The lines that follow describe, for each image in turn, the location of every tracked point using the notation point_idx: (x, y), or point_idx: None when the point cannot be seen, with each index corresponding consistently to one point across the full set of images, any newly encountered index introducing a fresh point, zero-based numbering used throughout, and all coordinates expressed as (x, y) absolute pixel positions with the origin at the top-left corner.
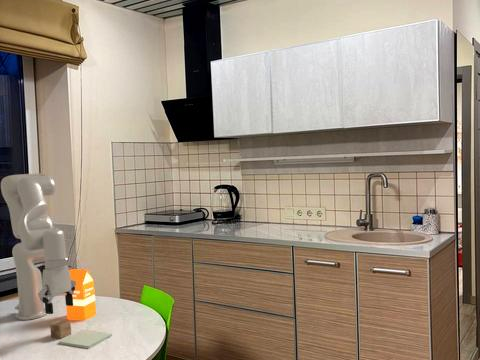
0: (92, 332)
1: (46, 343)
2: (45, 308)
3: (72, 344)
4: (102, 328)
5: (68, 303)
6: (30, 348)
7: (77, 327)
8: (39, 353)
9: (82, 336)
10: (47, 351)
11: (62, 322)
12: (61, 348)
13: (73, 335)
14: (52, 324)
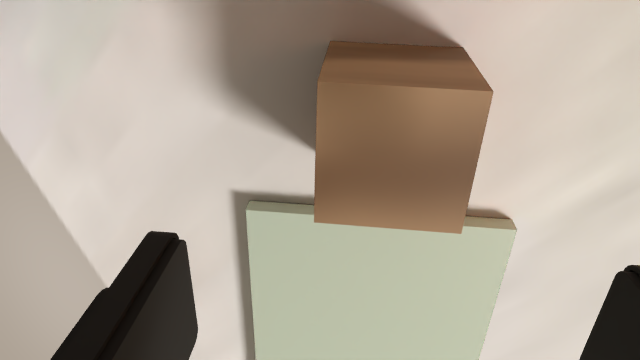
0: (461, 323)
1: (213, 105)
2: (78, 328)
3: (253, 310)
4: (590, 309)
5: (615, 346)
6: (82, 51)
7: (618, 107)
8: (72, 190)
9: (377, 304)
10: (121, 216)
11: (414, 177)
12: (198, 266)
13: (378, 238)
14: (328, 110)
